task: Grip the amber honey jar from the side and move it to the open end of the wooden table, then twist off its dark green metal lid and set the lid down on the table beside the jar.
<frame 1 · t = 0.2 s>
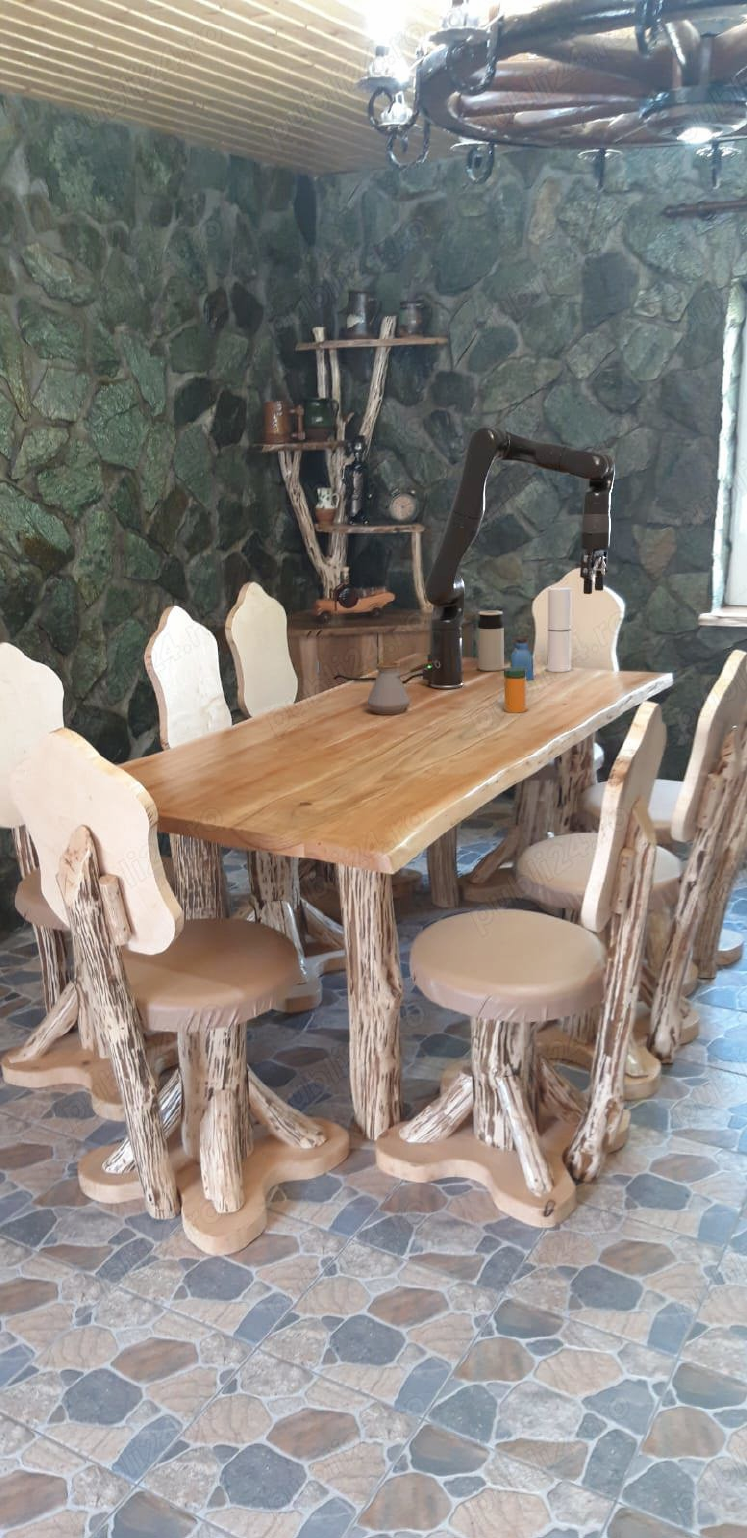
hand: (593, 592, 316), 29 cm above the table, tool pointing down, fingers open, 8 cm apart
travel mug: (491, 669, 371), on the table
perfume bottle: (521, 678, 355), on the table
coffee pot: (404, 714, 312), on the table
honey lid: (515, 670, 309), point 11 cm above the table, screwed on, not yet turned
cylindrical container: (559, 670, 366), on the table
honey jar: (515, 710, 312), on the table
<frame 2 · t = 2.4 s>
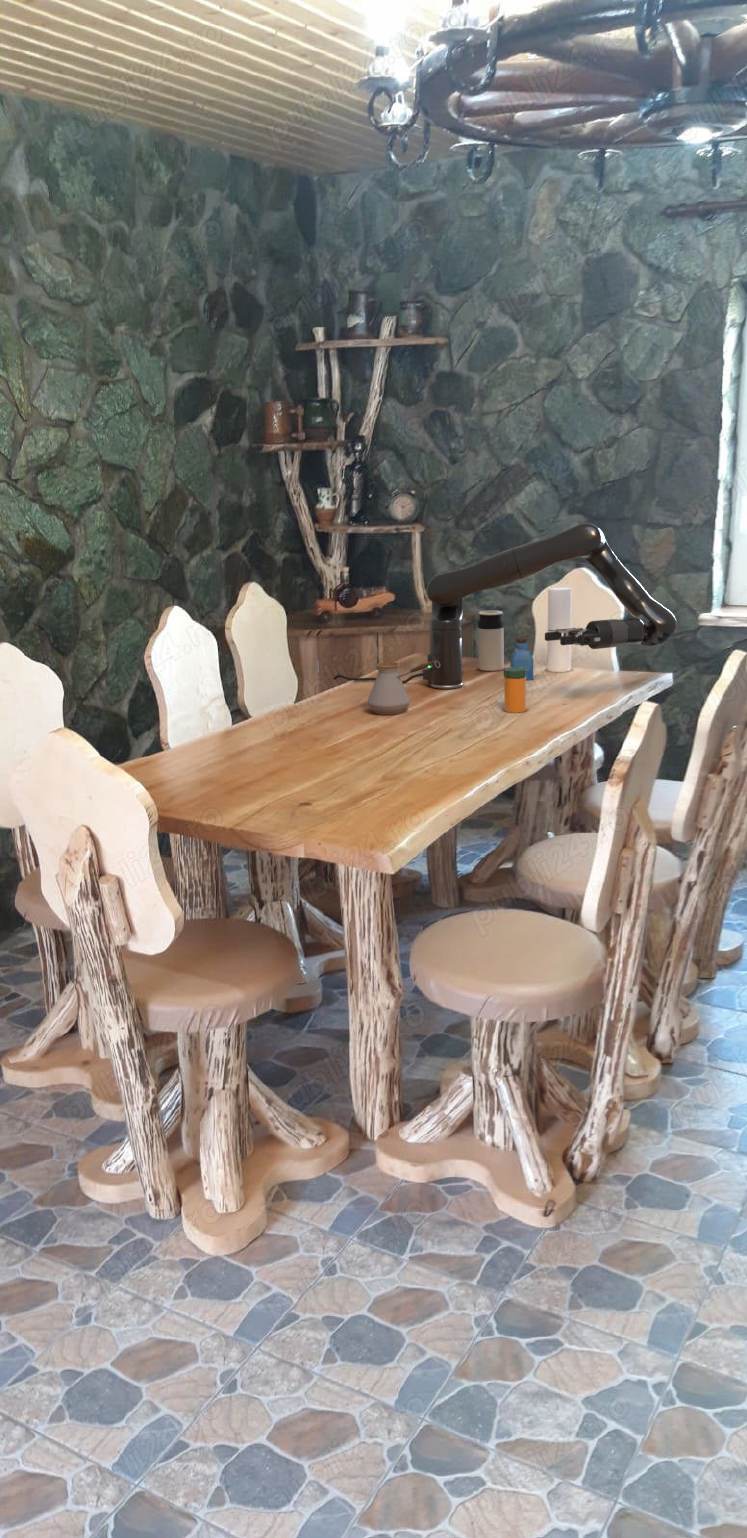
hand: (553, 638, 311), 18 cm above the table, tool horizontal, fingers open, 8 cm apart
nothing on the table moved.
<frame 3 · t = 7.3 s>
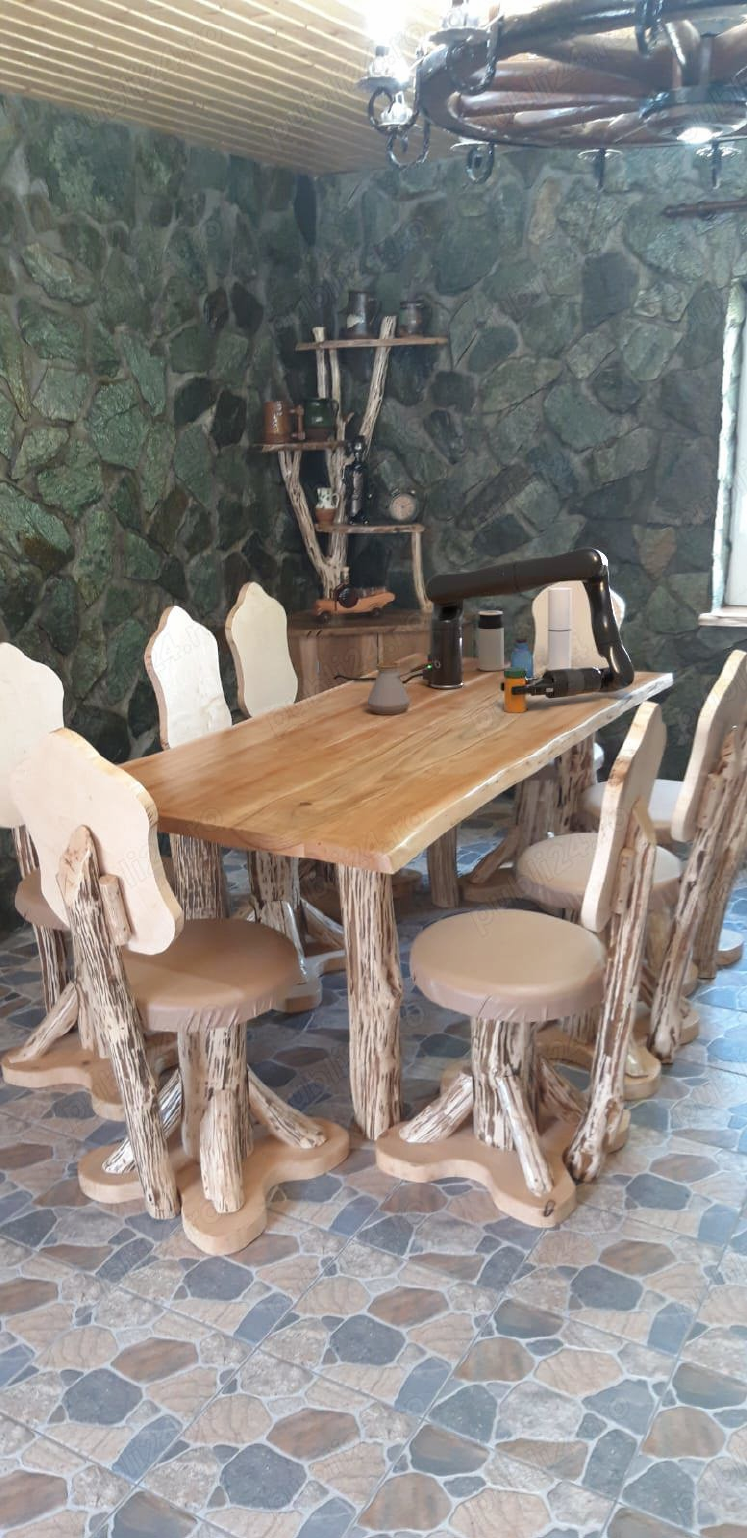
hand: (506, 688, 309), 6 cm above the table, tool horizontal, fingers closed on honey jar, 5 cm apart
honey jar: (515, 710, 312), on the table, touching gripper
everything else where it was.
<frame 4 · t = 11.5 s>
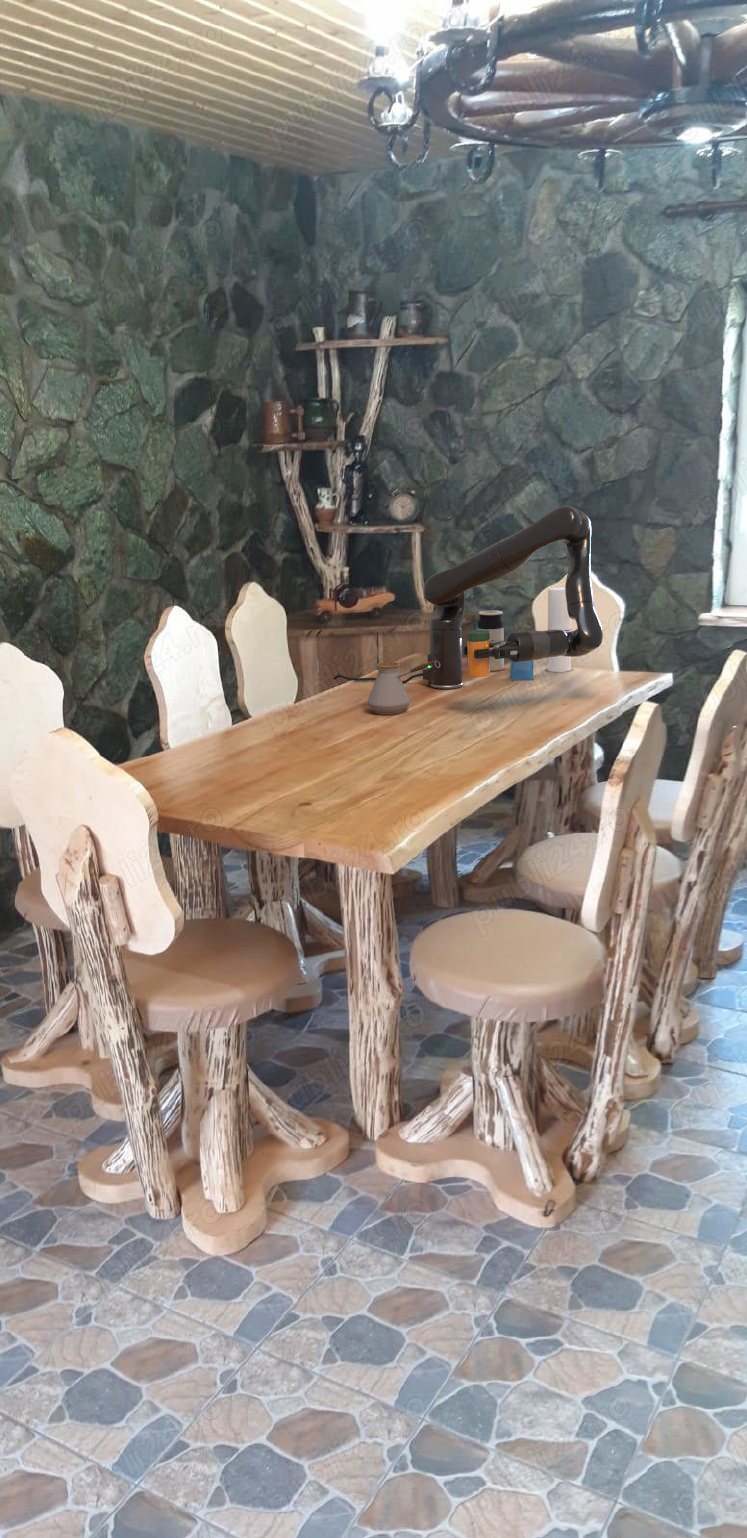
hand: (469, 652, 298), 17 cm above the table, tool horizontal, fingers closed on honey jar, 5 cm apart
honey lid: (478, 633, 298), point 22 cm above the table, screwed on, not yet turned
honey jar: (478, 674, 301), point 11 cm above the table, touching gripper
everything else where it was.
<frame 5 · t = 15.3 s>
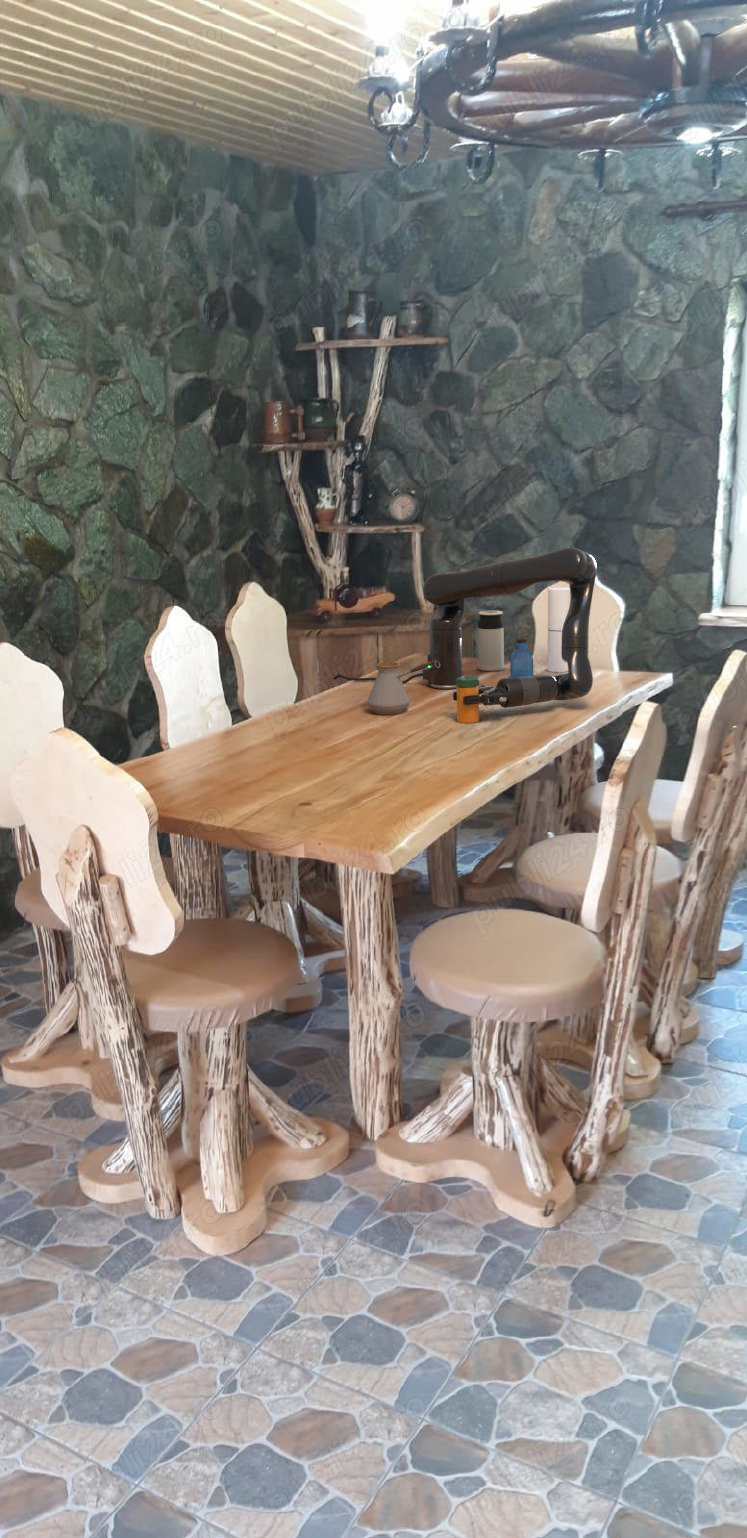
hand: (458, 698, 299), 6 cm above the table, tool horizontal, fingers closed on honey jar, 5 cm apart
honey lid: (467, 679, 299), point 11 cm above the table, screwed on, not yet turned
honey jar: (468, 720, 302), on the table, touching gripper
everything else where it was.
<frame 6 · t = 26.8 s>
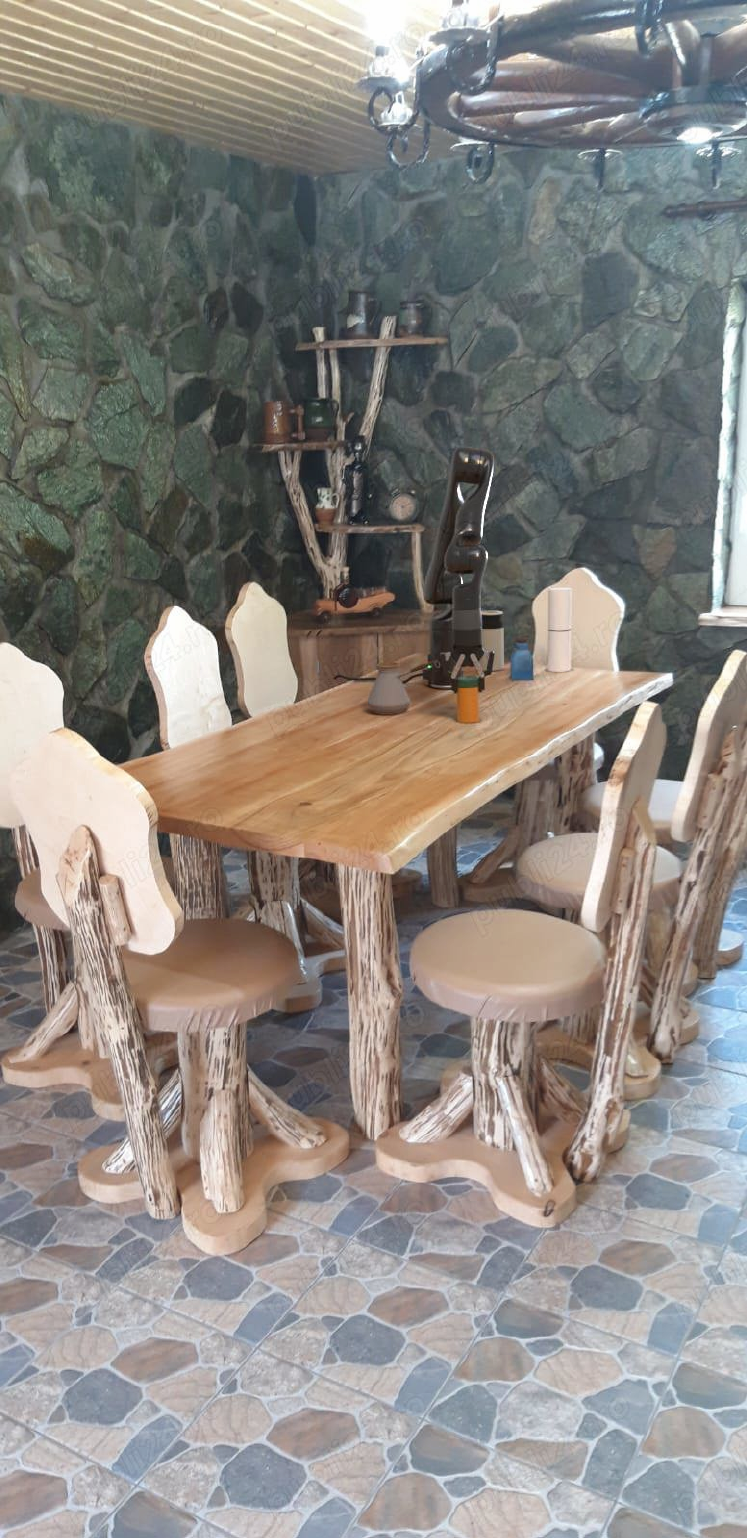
hand: (467, 692, 300), 7 cm above the table, tool pointing down, fingers closed on honey lid, 5 cm apart
honey lid: (467, 679, 299), point 11 cm above the table, screwed on, not yet turned, touching gripper
honey jar: (468, 720, 302), on the table
everything else where it was.
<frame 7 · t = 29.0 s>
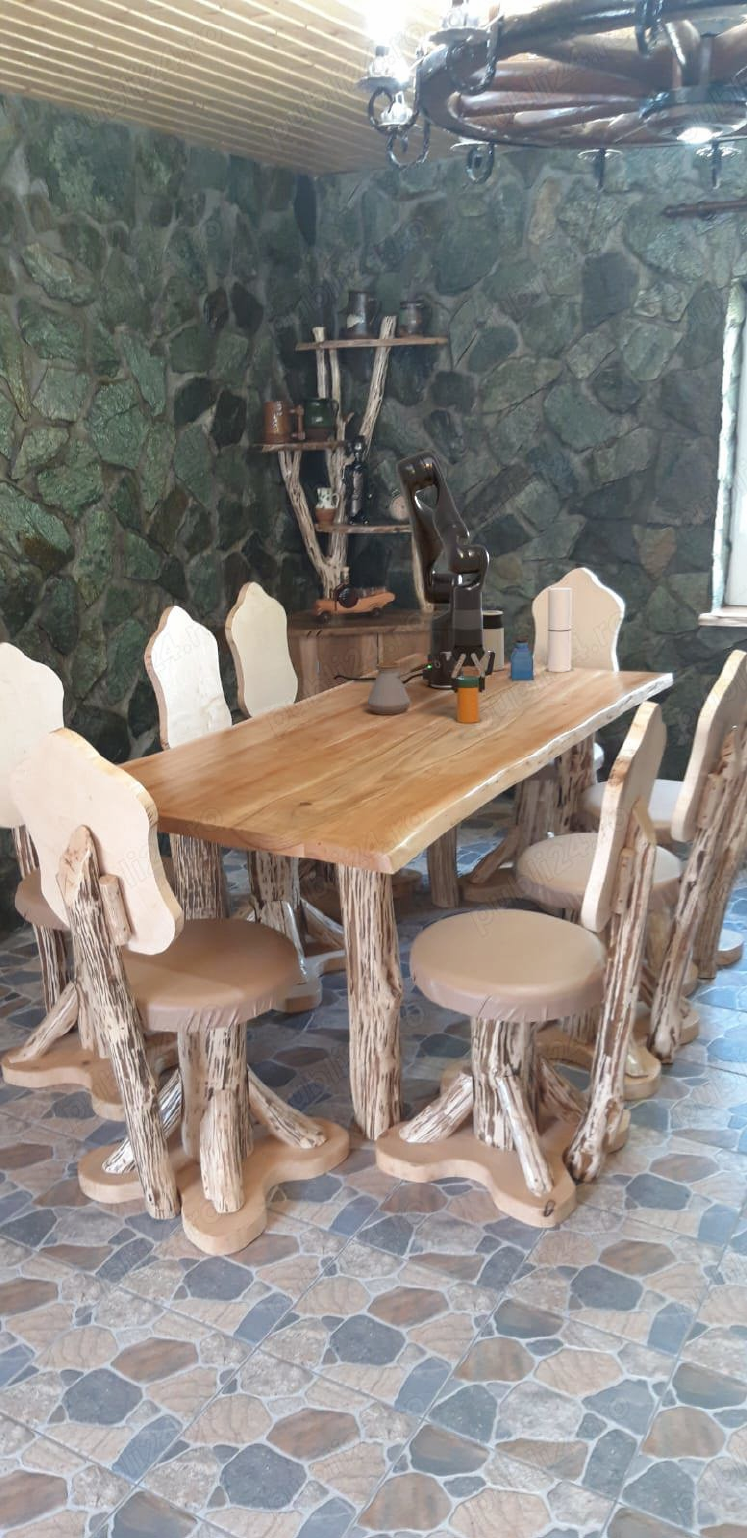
hand: (468, 691, 300), 7 cm above the table, tool pointing down, fingers closed on honey lid, 5 cm apart
honey lid: (468, 679, 299), point 11 cm above the table, off its thread, touching gripper
everything else where it was.
when the fingers open (1 cm above the table, at t = 37.8 s): honey lid drops 3 cm, point 1 cm above the table.
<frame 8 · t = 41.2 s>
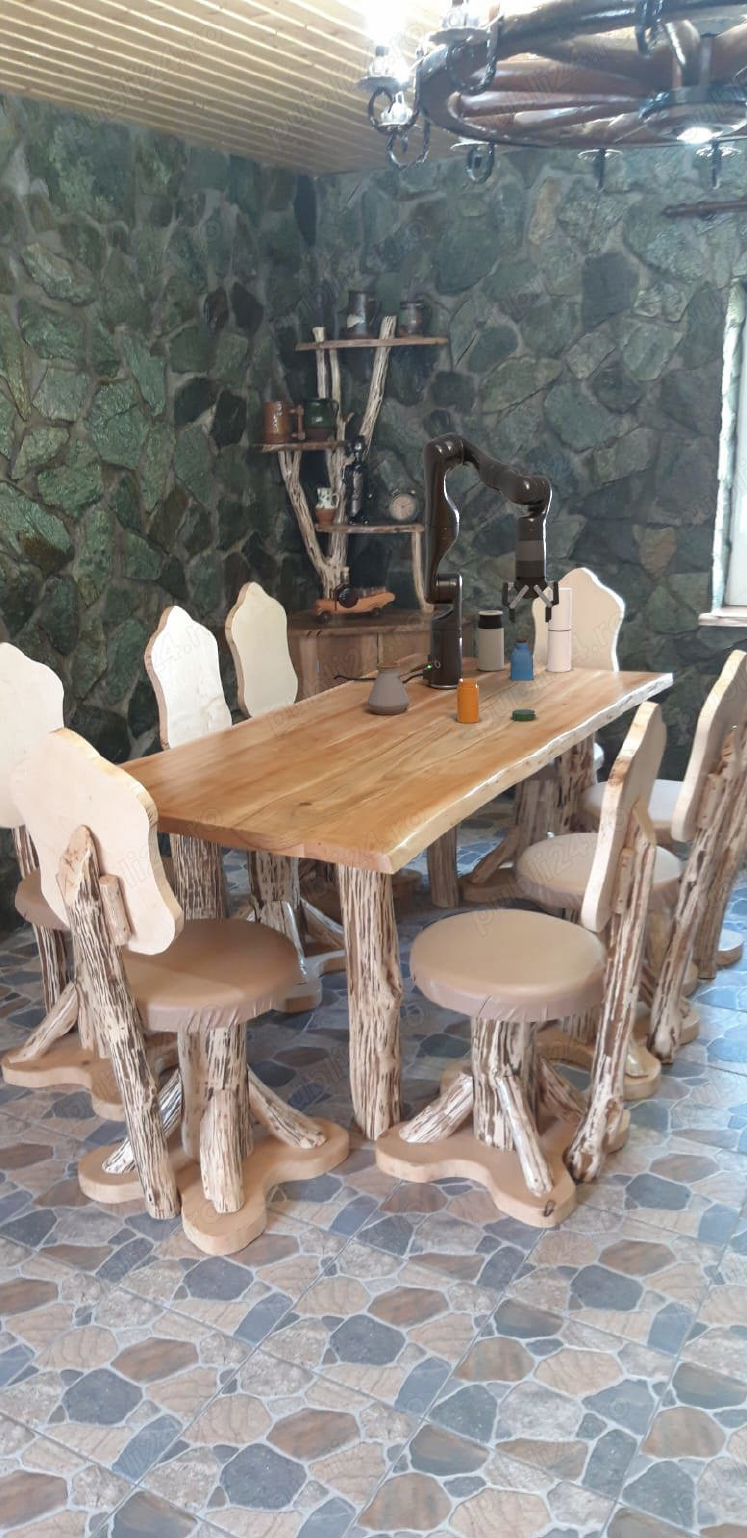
hand: (530, 622, 299), 24 cm above the table, tool pointing down, fingers open, 8 cm apart
honey lid: (523, 712, 301), point 1 cm above the table, off its thread
everything else where it was.
at the end: honey jar inside the target area (0.2 cm from its centre), on the table; honey lid came off its thread; honey lid point 1.5 cm above the table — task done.
